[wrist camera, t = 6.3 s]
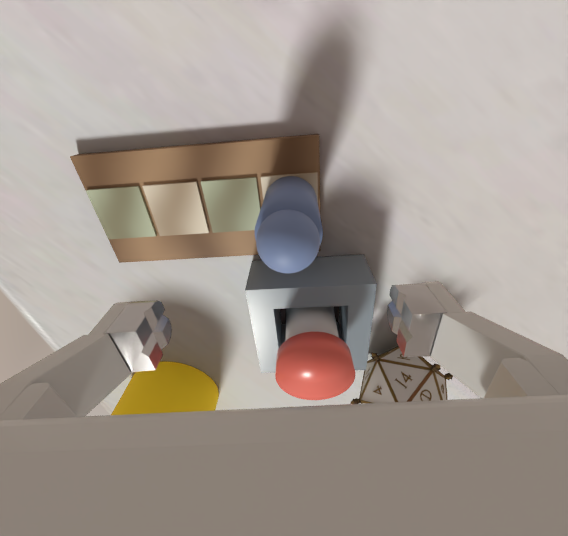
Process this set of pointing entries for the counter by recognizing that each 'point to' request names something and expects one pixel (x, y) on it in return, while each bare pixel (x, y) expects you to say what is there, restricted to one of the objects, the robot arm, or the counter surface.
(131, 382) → the yellow hollow cylinder
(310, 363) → the plunger
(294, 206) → the pawn
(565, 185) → the counter surface
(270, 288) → the base
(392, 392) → the game die
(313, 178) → the track board
